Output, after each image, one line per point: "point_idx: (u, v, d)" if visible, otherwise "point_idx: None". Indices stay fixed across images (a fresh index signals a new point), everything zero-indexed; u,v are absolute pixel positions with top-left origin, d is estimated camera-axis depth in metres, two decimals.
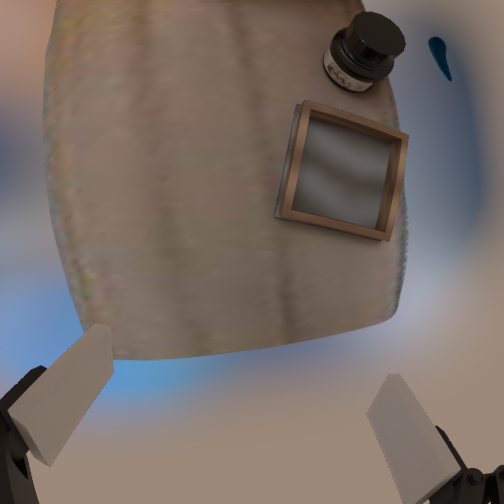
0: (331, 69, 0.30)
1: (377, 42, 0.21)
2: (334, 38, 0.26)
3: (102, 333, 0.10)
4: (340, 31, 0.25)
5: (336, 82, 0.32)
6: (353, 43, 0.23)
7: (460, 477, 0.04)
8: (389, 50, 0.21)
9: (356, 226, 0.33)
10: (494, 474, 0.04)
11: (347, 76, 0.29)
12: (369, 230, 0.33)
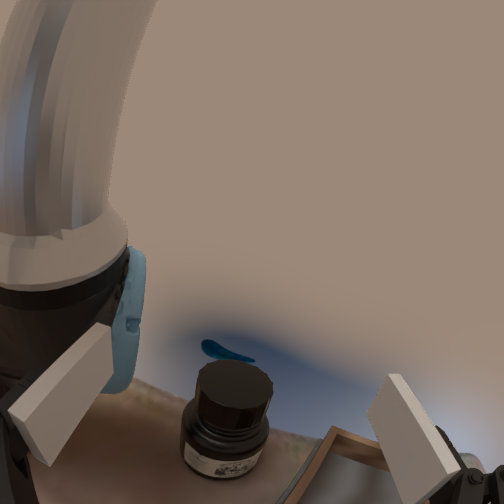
0: (223, 471, 0.20)
1: (252, 393, 0.21)
2: (196, 439, 0.20)
3: (102, 333, 0.10)
4: (188, 426, 0.21)
5: (237, 476, 0.21)
6: (235, 421, 0.19)
7: (460, 477, 0.04)
8: (265, 388, 0.22)
9: None
10: (494, 474, 0.04)
11: (250, 458, 0.21)
12: None
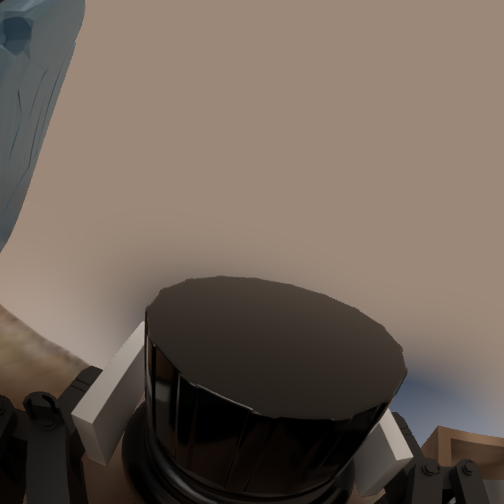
0: None
1: (351, 355, 0.06)
2: None
3: None
4: (133, 469, 0.06)
5: None
6: (298, 472, 0.04)
7: (412, 468, 0.06)
8: (376, 337, 0.07)
9: None
10: (455, 470, 0.05)
11: None
12: None
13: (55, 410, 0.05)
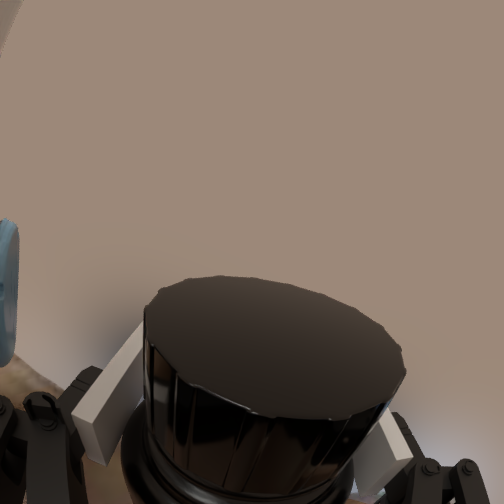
0: None
1: (350, 355, 0.06)
2: None
3: None
4: (131, 468, 0.06)
5: None
6: (296, 473, 0.04)
7: (412, 468, 0.06)
8: (375, 337, 0.07)
9: None
10: (455, 470, 0.05)
11: None
12: None
13: (55, 410, 0.05)
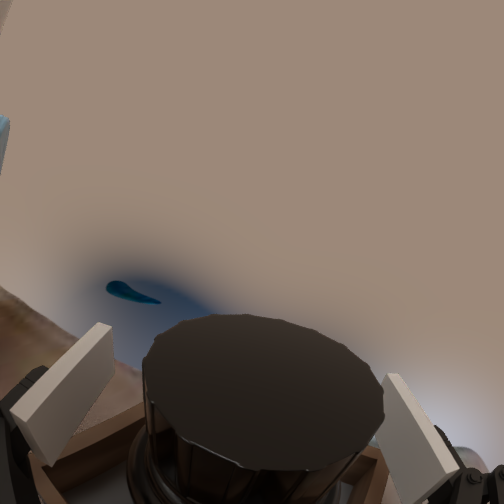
0: None
1: (332, 403, 0.06)
2: None
3: (103, 333, 0.10)
4: (137, 490, 0.06)
5: None
6: (281, 503, 0.04)
7: (459, 477, 0.04)
8: (360, 380, 0.07)
9: None
10: (493, 474, 0.04)
11: None
12: (373, 487, 0.09)
13: None
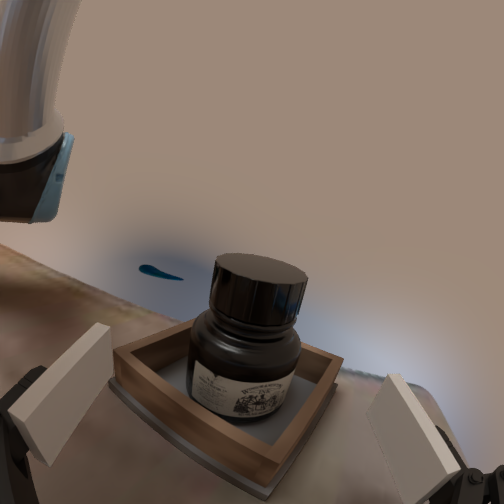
0: (246, 405, 0.18)
1: (284, 275, 0.19)
2: (211, 350, 0.18)
3: (102, 333, 0.10)
4: (200, 334, 0.19)
5: (263, 416, 0.19)
6: (266, 309, 0.17)
7: (460, 477, 0.04)
8: (298, 274, 0.20)
9: (320, 381, 0.21)
10: (494, 474, 0.04)
11: (281, 381, 0.18)
12: (328, 371, 0.22)
13: None
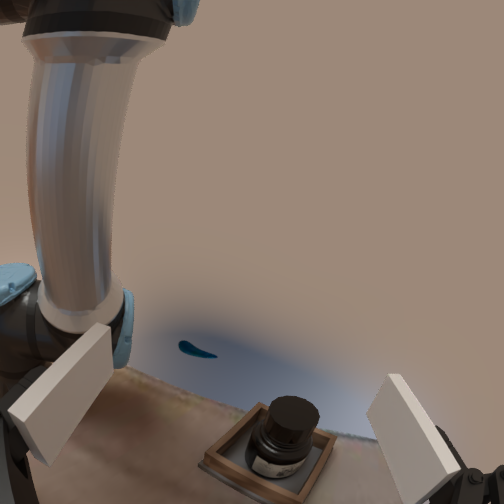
0: (283, 473, 0.28)
1: (307, 419, 0.29)
2: (267, 453, 0.28)
3: (102, 333, 0.10)
4: (260, 445, 0.29)
5: (290, 475, 0.29)
6: (297, 438, 0.28)
7: (460, 477, 0.04)
8: (314, 414, 0.30)
9: (322, 455, 0.31)
10: (494, 474, 0.04)
11: (301, 461, 0.29)
12: (327, 448, 0.33)
13: None
